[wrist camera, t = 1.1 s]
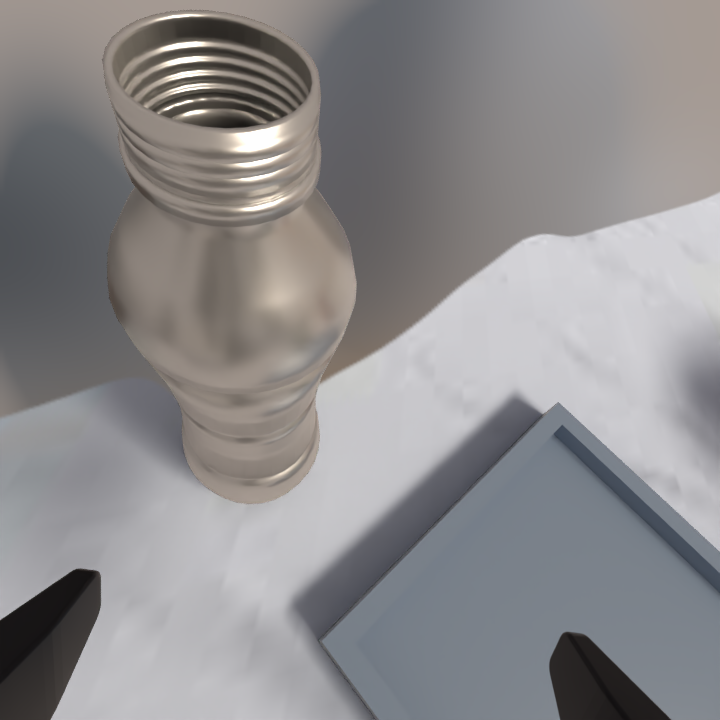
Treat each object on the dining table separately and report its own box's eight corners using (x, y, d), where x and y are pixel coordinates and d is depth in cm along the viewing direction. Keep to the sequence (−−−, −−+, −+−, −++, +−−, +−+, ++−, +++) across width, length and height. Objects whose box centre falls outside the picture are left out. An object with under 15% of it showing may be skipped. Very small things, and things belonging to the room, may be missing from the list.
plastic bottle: (276, 376, 28) (281, -45, 10) (339, 472, 25) (478, 138, 8) (169, 429, 25) (-58, -12, 8) (228, 542, 23) (91, 267, 6)
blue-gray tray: (649, 1094, 16) (689, 1143, 15) (317, 640, 21) (321, 641, 20) (814, 671, 24) (851, 674, 22) (543, 414, 29) (558, 402, 28)
